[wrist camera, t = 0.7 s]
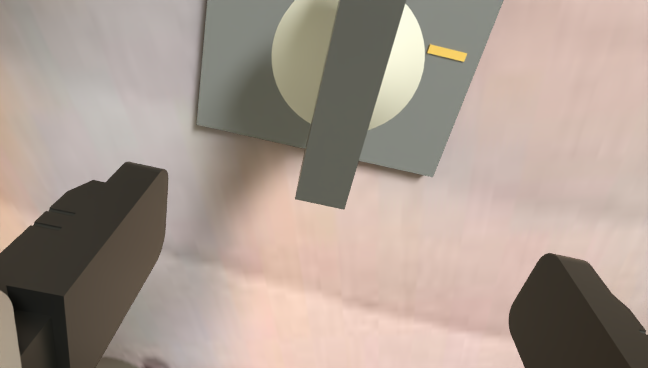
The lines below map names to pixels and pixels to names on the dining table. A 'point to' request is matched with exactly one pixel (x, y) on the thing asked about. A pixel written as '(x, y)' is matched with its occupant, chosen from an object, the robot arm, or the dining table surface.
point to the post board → (289, 128)
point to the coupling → (344, 81)
